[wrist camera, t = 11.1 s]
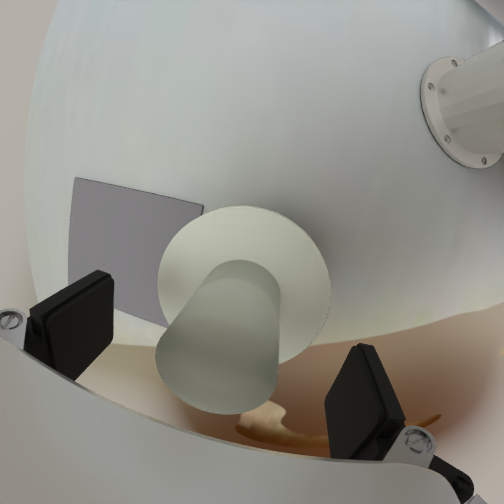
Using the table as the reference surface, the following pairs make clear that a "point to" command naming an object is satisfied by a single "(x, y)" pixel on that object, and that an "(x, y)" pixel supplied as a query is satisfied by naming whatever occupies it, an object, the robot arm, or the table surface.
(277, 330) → the lid
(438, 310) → the table surface
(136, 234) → the mat
